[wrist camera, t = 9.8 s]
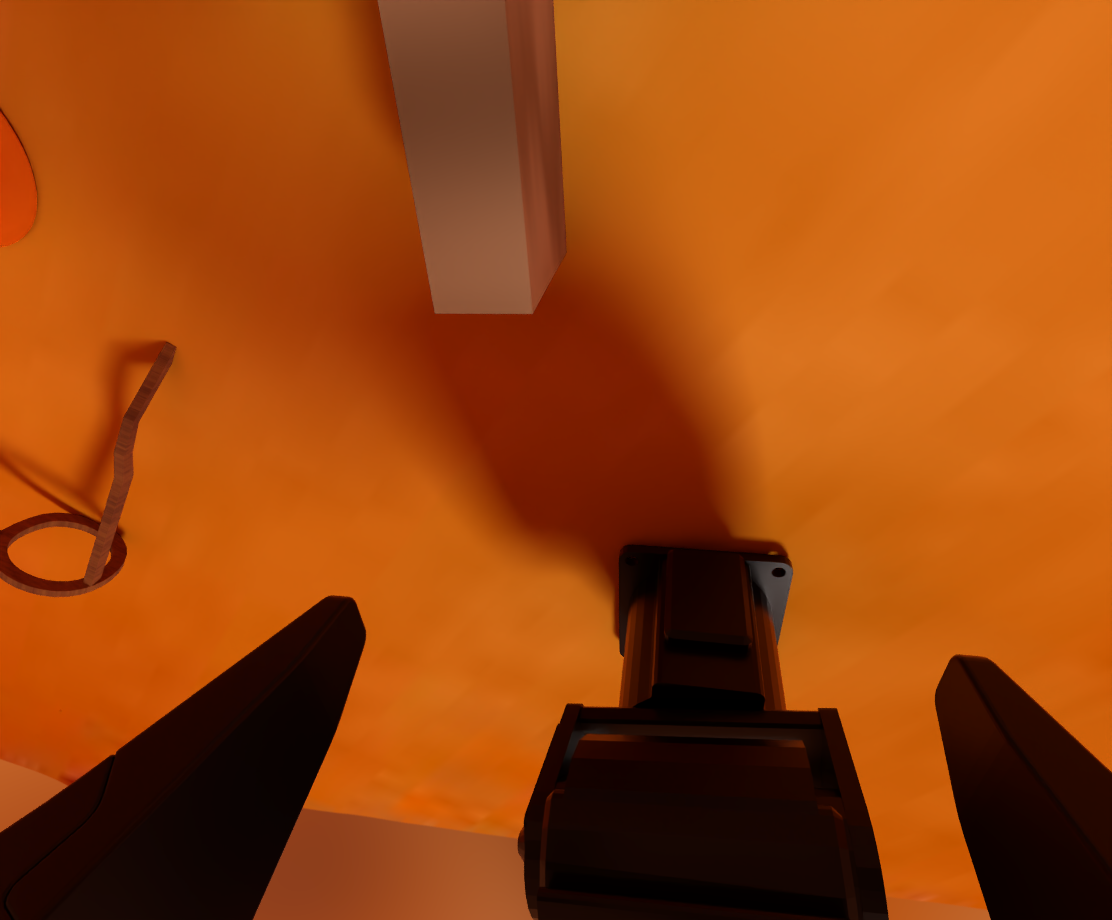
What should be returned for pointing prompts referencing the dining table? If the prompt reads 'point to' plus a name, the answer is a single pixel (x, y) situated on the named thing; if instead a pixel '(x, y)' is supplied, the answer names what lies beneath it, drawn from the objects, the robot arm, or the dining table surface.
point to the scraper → (481, 146)
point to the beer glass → (15, 188)
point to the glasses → (104, 531)
